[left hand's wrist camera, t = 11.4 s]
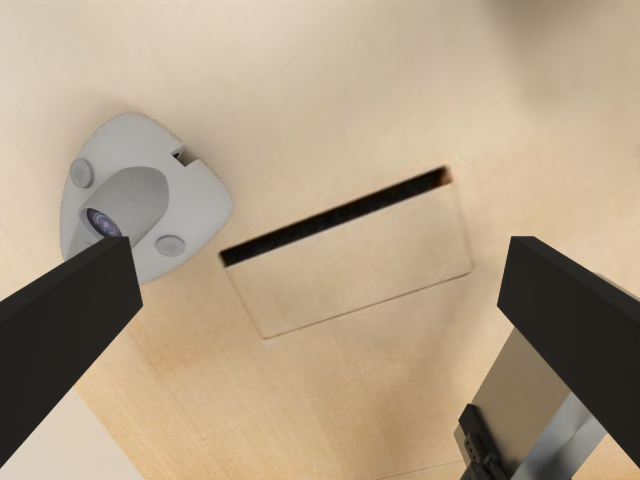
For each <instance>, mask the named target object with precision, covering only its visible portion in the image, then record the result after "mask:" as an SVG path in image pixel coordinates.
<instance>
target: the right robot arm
mask: <svg viewBox="0 0 640 480" xmlns="http://www.w3.org/2000/svg"><path fill="white" fill-rule="evenodd" d="M458 421H459V423H460V425H461V428H462V430H463V432H464V435H465V437H466V438H465V440H464V446H465V448H466V451H467V453H468V456H469V458H470V460H471V462H470V464H469V465H468V467H467V469H466V470H465V472H464V474H463V475H462V477H461V478H460V480H508V479H507V478H506V476H505V475H504V473H503V472H502V471H501V469H500V468H499V466H498V465H497V464H498V463H499V461H500V459H501V457H500V455H499V453H498V451H497V449H496V447H495V445H494V443H493V441H492V439H491V437H490V435H489V433H488V432H487V430H486V428H485V426H484V424H483V422H482V420H481V418H480V416H479V414H478V412H477V410H476V408H475V406H474V405H473V404H467V406H466V408H465V409H464V411H463V413H462V415H461V416H460V418H459V420H458ZM570 480H572V479H570Z"/></svg>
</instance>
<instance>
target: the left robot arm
mask: <svg viewBox="0 0 640 480" xmlns="http://www.w3.org/2000/svg"><path fill="white" fill-rule="evenodd" d="M142 307H143V302H142V298H141V293H140V288H139V283H138V279H137V274H136V269H135V264H134V259H133V255H132V250H131V245H130V240H129V236H106V237H104V238H103V239H101V240H100V241H98V242H96V243H95V244H93V245H91V246H90V247H88V248H87V249H85V250H83V251H82V252H80V253H78V254H77V255H75V256H74V257H72V258H70V259H69V260H67V261H65V262H64V263H62V264H61V265H59V266H57V267H56V268H54V269H53V270H51V271H49V272H48V273H46V274H44V275H43V276H41V277H40V278H38V279H36V280H35V281H33V282H31V283H30V284H28V285H27V286H25V287H23V288H22V289H20V290H18V291H17V292H15V293H14V294H12V295H10V296H9V297H7V298H5V299H4V300H2V301H1V302H0V468H1V467H2V466H3V465H4V464H5V463H6V462H7V460H8V459H9V458H10V457H11V456H12V455H13V454H14V452H15V451H16V450H17V449H18V448H19V447H20V446H21V445H22V443H23V442H24V441H25V440H26V439H27V438H28V437H29V435H30V434H31V433H32V432H33V431H34V430H35V429H36V427H37V426H38V425H39V424H40V423H41V422H42V421H43V419H44V418H45V417H46V416H47V415H48V414H49V413H50V411H51V410H52V409H53V408H54V407H55V406H56V405H57V403H58V402H59V401H60V400H61V399H62V398H63V397H64V395H65V394H66V393H67V392H68V391H69V390H70V389H71V388H72V386H73V385H74V384H75V383H76V382H77V381H78V380H79V378H80V377H81V376H82V375H83V374H84V373H85V372H86V370H87V369H88V368H89V367H90V366H91V365H92V364H93V363H94V361H95V360H96V359H97V358H98V357H99V356H100V355H101V353H102V352H103V351H104V350H105V349H106V348H107V347H108V345H109V344H110V343H111V342H112V341H113V340H114V339H115V337H116V336H117V335H118V334H119V333H120V332H121V331H122V329H123V328H124V327H125V326H126V325H127V324H128V323H129V322H130V320H131V319H132V318H133V317H134V316H135V315H136V314H137V312H138V311H139V310H140V309H141V308H142ZM497 307H498V308H499V309H500V310H501V311H502V312H503V314H504V315H505V316H506V317H507V318H508V319H509V320H510V322H511V323H512V324H513V325H514V326H515V327H516V328H517V329H518V331H519V332H520V333H521V334H522V335H523V336H524V337H525V339H526V340H527V341H528V342H529V343H530V344H531V345H532V347H533V348H534V349H535V350H536V351H537V352H538V353H539V355H540V356H541V357H542V358H543V359H544V360H545V361H546V363H547V364H548V365H549V366H550V367H551V368H552V369H553V370H554V372H555V373H556V374H557V375H558V376H559V377H560V378H561V380H562V381H563V382H564V383H565V384H566V385H567V386H568V388H569V389H570V390H571V391H572V392H573V393H574V394H575V396H576V397H577V398H578V399H579V400H580V401H581V402H582V404H583V405H584V406H585V407H586V408H587V409H588V410H589V411H590V413H591V414H592V415H593V416H594V417H595V418H596V419H597V421H598V422H599V423H600V424H601V425H602V426H603V427H604V429H605V430H606V431H607V432H608V433H609V434H610V435H611V437H612V438H613V439H614V440H615V441H616V442H617V443H618V445H619V446H620V447H621V448H622V449H623V450H624V451H625V453H626V454H627V455H628V456H629V457H630V458H631V459H632V460H633V462H634V463H635V464H636V465H637V466H638V467H639V468H640V302H639V301H638V300H636V299H635V298H633V297H631V296H630V295H628V294H626V293H625V292H623V291H622V290H620V289H618V288H617V287H615V286H613V285H612V284H610V283H609V282H607V281H605V280H604V279H602V278H600V277H599V276H597V275H596V274H594V273H592V272H591V271H589V270H587V269H586V268H584V267H583V266H581V265H579V264H578V263H576V262H575V261H573V260H571V259H570V258H568V257H566V256H565V255H563V254H562V253H560V252H558V251H557V250H555V249H553V248H552V247H550V246H549V245H547V244H545V243H544V242H542V241H540V240H539V239H537V238H536V237H534V236H511V240H510V245H509V250H508V255H507V259H506V264H505V269H504V274H503V279H502V283H501V288H500V293H499V298H498V302H497Z"/></svg>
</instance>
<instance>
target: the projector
mask: <svg viewBox="0 0 640 480" xmlns="http://www.w3.org/2000/svg"><path fill="white" fill-rule="evenodd" d="M185 148H186V146H185V145H184V144H183V143H182V142H181V141H180V140H178V139H177V138H176V137H175V136H174V135H173V134H172V133H170V132H169V131H168V130H167V129H165V128H164V127H163V126H162V125H160V124H159V123H157V122H156V121H154V120H152V119H151V118H149V117H146V116H144V115H141V114H137V113H124V114H120V115H118V116H115V117H114V118H112V119H110V120H109V121H107V122H106V123H105V124H103V125H102V126H101V127H100V128H99V129H98V130H97V131H96V132H94V133H93V135H92V136H91V137H90V138H89V139H88V141H87V142H86V143H85V144H84V146H83V147H82V149H81V150H80V152H79V153H78V155H77V157H76V159H75V160H74V161H73V163H72V164H71V167H70V172H69V175H68V178H67V181H66V184H65V188H64V192H63V197H62V204H61V214H60V243H61V251H62V256H63V259H64V260H65V261H67V260H69V259H70V258H72V257H74V256H75V255H77V254H78V253H80V252H82V251H83V250H85V249H87V248H88V247H90V246H91V245H93V244H95V243H96V242H98V241H100V240H101V239H103V238H104V237H106V236H129V240H130V245H131V250H132V255H133V259H134V264H135V269H136V274H137V279H138V283H139V286H140V285H142V284H145V283H148V282H150V281H153V280H155V279H157V278H159V277H161V276H163V275H165V274H167V273H169V272H171V271H172V270H174V269H176V268H177V267H179V266H180V265H181V264H183V263H184V262H186V261H187V260H188V259H190V258H191V257H192V256H193V255H195V254H196V253H197V252H198V251H199V250H200V249H201V248H203V247H204V246H205V245H206V244H207V243H208V242H209V241H210V240H211V239H212V238H213V237H214V236H215V235H216V234H217V233H218V231H219V230H220V229H221V228H222V227H223V225H224V224H225V223H226V221H227V220H228V219H229V217H230V215H231V213H232V210H233V199H232V196H231V194H230V191H229V190H228V188H227V187H226V185H225V184H224V183H223V182H222V181H221V179H220V178H219V177H218V176H217V175H216V174H215V173H214V172H213V171H212V170H211V169H210V168H209V167H208V166H207V165H206V164H205V163H204V162H202V161H201V160H200V159H197V160H195V161H193V162H192V163H190V164H189V165H187V166H186V167H184V166H183V165H182V164H181V163H180V162H179V161H178V160H177V159H178V158H179V157H180V156H181V155H182V153H183V152H184V150H185Z"/></svg>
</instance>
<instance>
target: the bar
mask: <svg viewBox="0 0 640 480" xmlns="http://www.w3.org/2000/svg"><path fill="white" fill-rule="evenodd" d="M592 273H594V272H592ZM594 274H596V275H597V276H599V277H600V278H602V279H604V280H605V281H607V282H609V283H610V284H612V285H613V286H615V287H617V288H618V289H620V290H622V291H623V292H625V293H626V294H628V295H630V296H631V297H633V298H635V299H636V300H638V301H639V302H640V298H638V297H637V296H635V295H633V294H632V293H630V292H628V291H627V290H625V289H624V288H622V287H620V286H619V285H617V284H615V283H614V282H612V281H611V280H609V279H607V278H606V277H604V276H603V275H601V274H598V273H594ZM471 404H473V405H474V406H475V408H476V410H477V412H478V414H479V416H480V418H481V420H482V422H483V424H484V426H485V428H486V430H487V432H488V433H489V435H490V437H491V439H492V441H493V443H494V445H495V447H496V449H497V451H498V453H499V455H500V457H501V459H500V461H499V463H498V464H497V465H498V466H499V468H500V469H501V471H502V472H503V473H504V475H505V476H506V478H507V479H508V480H570V479H571V478H572V476H573V475H574V474H575V473H576V471H577V470H578V469H579V468H580V466H581V465H582V464H583V463H584V461H585V460H586V459H587V458H588V456H589V455H590V454H591V452H592V451H593V450H594V449H595V447H596V446H597V445H598V444H599V442H600V441H601V440H602V439H603V437H604V436H605V435H606V433H607V431H606V430H605V429H604V427H603V426H602V425H601V424H600V423H599V422H598V421H597V419H596V418H595V417H594V416H593V415H592V414H591V413H590V411H589V410H588V409H587V408H586V407H585V406H584V405H583V404H582V402H581V401H580V400H579V399H578V398H577V397H576V396H575V394H574V393H573V392H572V391H571V390H570V389H569V388H568V386H567V385H566V384H565V383H564V382H563V381H562V380H561V378H560V377H559V376H558V375H557V374H556V373H555V372H554V370H553V369H552V368H551V367H550V366H549V365H548V364H547V363H546V361H545V360H544V359H543V358H542V357H541V356H540V355H539V353H538V352H537V351H536V350H535V349H534V348H533V347H532V345H531V344H530V343H529V342H528V341H527V340H526V339H525V337H524V336H523V335H522V334H521V333H520V332H519V331H518V329H517V328H516V327H514V329H513V330H512V332H511V334H510V336H509V337H508V339H507V341H506V343H505V344H504V346H503V348H502V350H501V351H500V353H499V355H498V357H497V358H496V360H495V362H494V364H493V365H492V367H491V369H490V371H489V373H488V374H487V376H486V378H485V380H484V381H483V383H482V385H481V387H480V388H479V390H478V392H477V394H476V395H475V397H474V399H473V401H472V402H471ZM454 436H455V439H456V441H457V444H458V446H459V449H460V451H461V454H462V456H463V459H464V461H465V464H466V466H467V467H468V465H469V464H470V462H471V460H470V458H469V456H468V453H467V451H466V448H465V446H464V440H465V438H466V437H465V435H464V432H463V430H462V428H461V425H460V423H459V425H458V427H457V429H456V430H455V432H454Z"/></svg>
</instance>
